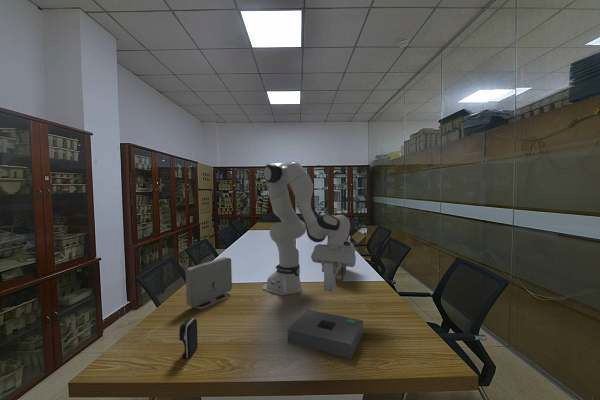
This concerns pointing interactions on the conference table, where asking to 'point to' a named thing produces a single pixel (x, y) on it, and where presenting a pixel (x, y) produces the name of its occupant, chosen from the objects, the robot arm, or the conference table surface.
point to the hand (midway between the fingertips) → (329, 272)
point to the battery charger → (189, 337)
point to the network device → (208, 282)
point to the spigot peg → (329, 276)
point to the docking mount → (327, 333)
